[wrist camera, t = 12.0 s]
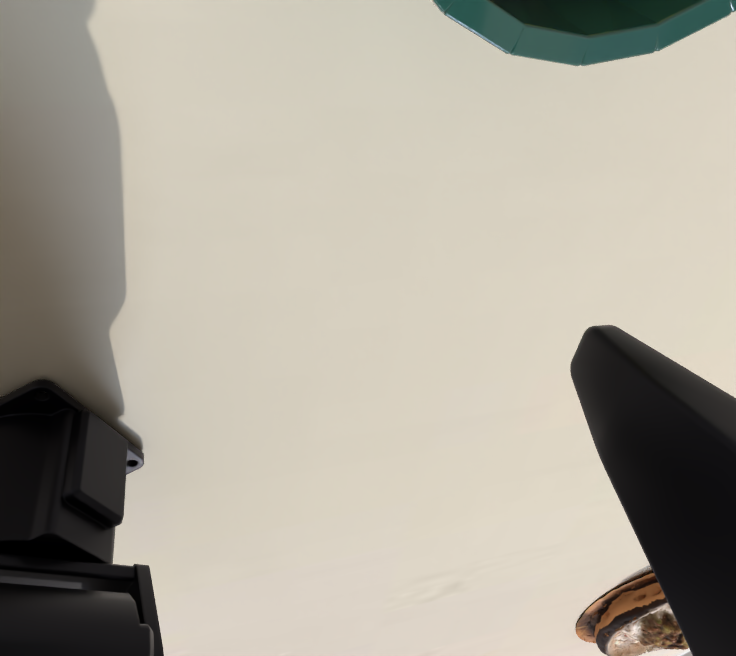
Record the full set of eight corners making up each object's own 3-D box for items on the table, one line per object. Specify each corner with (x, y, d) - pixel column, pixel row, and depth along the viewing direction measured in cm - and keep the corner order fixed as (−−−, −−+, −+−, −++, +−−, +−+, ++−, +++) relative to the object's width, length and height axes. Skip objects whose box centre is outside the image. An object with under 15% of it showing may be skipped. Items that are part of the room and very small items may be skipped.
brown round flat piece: (549, 650, 60) (569, 698, 57) (627, 565, 51) (656, 617, 48) (675, 631, 64) (699, 675, 61) (766, 551, 55) (801, 597, 52)
